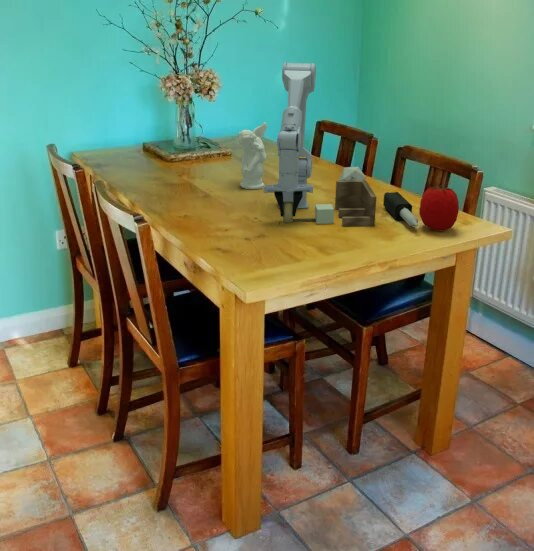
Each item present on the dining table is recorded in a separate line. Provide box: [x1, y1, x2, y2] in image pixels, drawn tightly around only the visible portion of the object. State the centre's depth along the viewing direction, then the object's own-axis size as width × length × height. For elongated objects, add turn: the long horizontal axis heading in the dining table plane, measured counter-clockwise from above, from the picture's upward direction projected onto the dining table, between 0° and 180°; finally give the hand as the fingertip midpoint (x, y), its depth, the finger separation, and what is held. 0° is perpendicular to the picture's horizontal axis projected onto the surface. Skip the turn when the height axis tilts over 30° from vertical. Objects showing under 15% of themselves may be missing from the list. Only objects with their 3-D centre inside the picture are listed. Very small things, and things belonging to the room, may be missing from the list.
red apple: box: [418, 183, 460, 232], centre depth 201 cm, size 12×12×13 cm
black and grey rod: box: [382, 191, 419, 228], centre depth 210 cm, size 5×5×25 cm
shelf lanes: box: [334, 180, 377, 227], centre depth 211 cm, size 10×17×9 cm, turn 2°
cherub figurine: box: [238, 121, 268, 190], centre depth 241 cm, size 12×12×22 cm
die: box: [337, 166, 367, 181], centre depth 238 cm, size 8×9×10 cm
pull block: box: [282, 201, 335, 225], centre depth 208 cm, size 15×5×6 cm, turn 93°
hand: (287, 215), depth 208 cm, fingers closed on pull block, 3 cm apart
